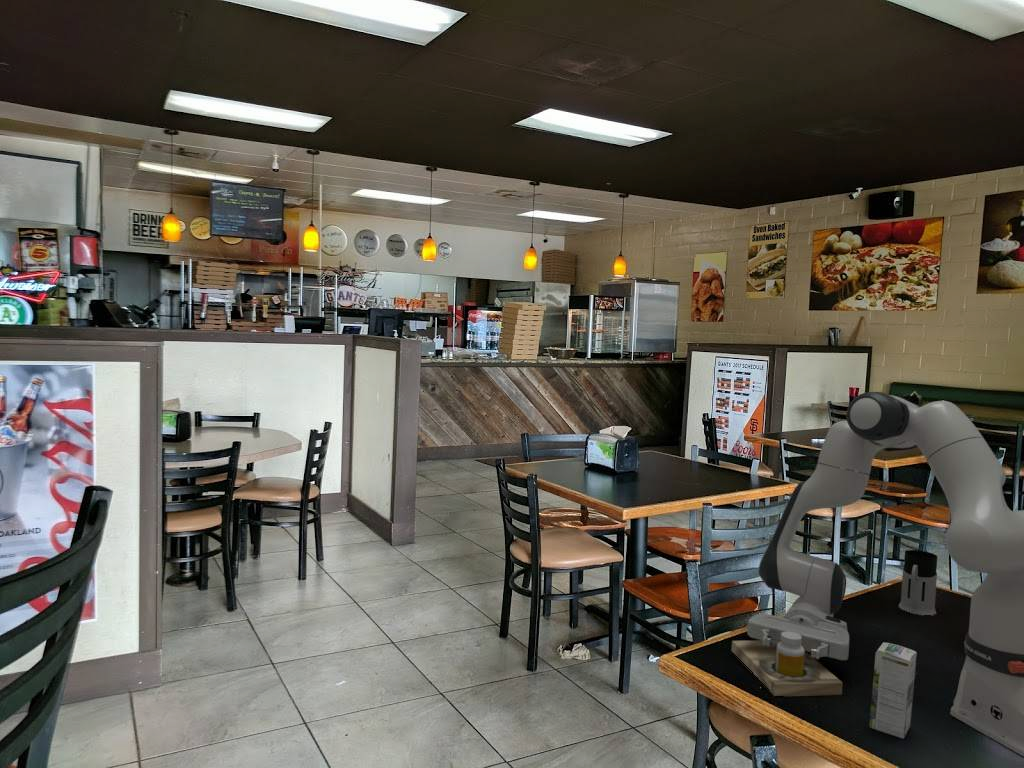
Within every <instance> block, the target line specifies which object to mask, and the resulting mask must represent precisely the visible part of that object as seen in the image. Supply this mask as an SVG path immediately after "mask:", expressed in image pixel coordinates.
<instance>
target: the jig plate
mask: <svg viewBox="0 0 1024 768" xmlns="http://www.w3.org/2000/svg"><path fill="white" fill-rule="evenodd" d="M776 649H777V644H775V643H772V645H771V646H770V647H769V646H764V645H763V641H762V640H760V639H755V640H751V639H750V640H732V641H731V653H732V652H733V653H734V654H735V655H736V656H737V657H738V658H739V659H740V660H741V661H742V662H743V663H744V664H745V665H746V666H747V667H748V668H749V669H750V670H751V671H752V672H753V674H754V675H755V676H756V677H758V679H759V680H760V681H761V682H762V683H763V684H764V685H765V686H766V687H767V688H768V689H769V690H770V691H769V690H768V689H767V688H766V687H765V686H764V685H763V684H762V683H761V682H760V681H759V680H758V679H757V680H758V681H759V682H760V683H761V684H762V685H763V686H764V687H765V688H766V689H767V690H768V691H769V692H770V693H771V694H772V696H774V697H775V696H784V697H809V696H810V697H814V696H842V695H843V681H842V680H840V679H839V678H838V677H837V676H836V675H834V674H833V673H832V672H831V671H829V670H828V669H827V668H826V667H824V666H823V665H822V664H821V663H820V662H819V661H818V660H817V659H815V658H812V657H811V654H809V652H807V651H805V656H804V674H803V677H789V676H784V675H782V674H779V673H777V672H775V667H776ZM733 653H732V654H733ZM734 654H733V655H734ZM735 655H734V656H735ZM736 656H735V657H736ZM737 657H736V658H737ZM738 658H737V659H738ZM739 659H738V660H739ZM740 660H739V661H740ZM741 661H740V662H741ZM742 662H741V663H742ZM743 663H742V664H743ZM744 664H743V665H744ZM745 665H744V666H745ZM746 666H745V667H746ZM747 667H746V668H747ZM748 668H747V669H748ZM749 669H748V670H749ZM750 670H749V671H750ZM751 671H750V672H751ZM752 672H751V673H752ZM754 675H753V676H754ZM755 676H754V677H755ZM756 677H755V678H756Z"/></svg>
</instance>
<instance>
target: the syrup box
mask: <svg viewBox="0 0 1024 768" xmlns="http://www.w3.org/2000/svg"><path fill="white" fill-rule="evenodd" d="M917 653H918V652H916V650H913V649H911V648H908V647H905V646H902V645H899V644H894V643H891V642H882V643H881V645H880V646H879V648H878V649H877V650H876V651H875V656H874V668H873V679H872V680H873V681H872V691H871V702H870V703H871V704H870V714H869V728H871V729H873V730H876V731H877V732H882V733H884V734H888V735H890V736H894V737H897V738H900V739H903V740H904V739H905V737H906V736H907V734H908V731H909V729H910V727H911V724H912V723H911V721H912V711H913V700H914V690H915V689H914V688H915V678H916V664H917V663H916V662H917Z"/></svg>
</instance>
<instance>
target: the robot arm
mask: <svg viewBox="0 0 1024 768" xmlns="http://www.w3.org/2000/svg"><path fill="white" fill-rule="evenodd" d="M917 448H918V449H919V450H920V452H921V453H922V455H923V457H924V458H925V460H926V462H927V464H928V465H929V467H930V469H931V470H932V473H933V474H934V476H935V478H936V480H937V482H938V483H939V485H940V487H941V489H942V491H943V493H944V495H945V497H946V500H947V503H948V504H947V505H948V508H949V512H950V524H949V527H948V528H947V530H946V533H945V547H946V549H947V553H948V554H949V556H950V558H951V559H952V560H953V561H954V562H955V564H957V565H958V566H960V567H961V568H962V569H964V570H967V571H970V572H976V573H981V574H986V575H985V576H986V577H985V578H984V579H983V580H982V582H981V584H979V586H977V588H976V589H975V590H974V591H973V593H972V595H971V598H970V609H969V610H970V611H969V623H968V624H969V625H968V631H967V632H966V634H965V640H964V642H963V643H964V653H965V656H966V657H965V661H964V664H963V667H962V669H961V672H960V675H959V676H960V677H959V680H958V686H957V690H956V695H955V697H954V699H953V702H952V703H953V705H952V706H951V708H950V712H949V714H950V715H951V716H952V717H954V718H956V719H957V720H959V721H961V722H963V723H965V724H966V725H967V726H970V727H971V728H973V729H975V730H977V731H978V732H980V733H982V734H984V735H985V736H987V737H989V738H991V739H992V740H993V741H996V742H997V743H999V744H1001V745H1003V746H1004V747H1006V748H1008V749H1009V750H1012V751H1013V752H1015V753H1016V754H1019V755H1020V756H1022V757H1024V509H1021V510H1012V509H1010V508H1009V506H1008V505H1007V502H1006V499H1005V496H1004V493H1003V486H1004V485H1005V482H1006V480H1007V475H1006V471H1005V469H1004V467H1003V466H1002V464H1001V463H1000V461H999V460H998V459H997V456H996V455H995V454H994V452H993V450H992V448H991V447H990V446H989V444H988V443H987V441H986V439H985V438H984V436H983V435H982V434H981V432H980V431H979V429H978V428H977V427H976V426H975V424H974V422H972V420H971V419H970V418H969V417H968V416H967V415H966V414H965V413H964V411H962V410H961V409H960V408H959V406H957V405H956V404H954V403H952V402H951V401H947V400H938V401H937V400H936V401H932V402H928V403H926V404H924V405H922V406H920V405H919V404H916V403H913V402H910V401H909V400H906V399H905V398H902V397H900V396H896V395H892V394H888V393H886V392H882V391H867V392H866V391H865V392H863V393H860V394H858V395H857V396H855V397H854V398H853V399H852V400H851V401H850V403H849V404H848V406H847V409H846V420H840V421H836V422H834V423H833V424H832V425H831V426H830V428H829V429H828V432H827V433H826V436H825V438H824V440H823V443H822V446H821V449H820V453H819V456H818V459H817V464H816V466H815V470H814V471H813V473H812V474H811V475H810V477H809V478H808V479H807V480H805V481H800V482H799V483H798V484H796V487H795V488H794V490H793V491H792V493H791V496H790V497H789V499H788V502H787V504H786V505H785V508H784V510H783V512H782V515H781V517H780V519H779V521H778V524H777V526H776V528H775V530H774V533H773V536H772V537H771V540H770V542H769V544H768V546H767V548H766V549H765V551H764V553H763V554H762V557H761V558H760V561H759V565H758V575H759V577H760V578H761V580H762V582H763V583H764V584H765V585H766V587H768V588H769V589H771V590H772V589H773V590H776V591H781V592H786V593H790V594H793V595H796V596H798V598H796V599H795V601H793V603H792V605H791V606H790V607H789V608H788V610H787V612H786V613H784V615H783V616H777V615H775V614H774V615H773V614H769V613H764V612H763V613H762V612H760V613H756V614H755V615H753V616H751V617H750V618H749V619H748V620H747V627H746V628H747V629H746V632H747V635H748V636H749V637H750V638H752V639H755V640H762V641H763V645H764V646H769V647H770V646H771V645H772V643H775V644H778V643H780V642H782V641H781V633H782V632H786V631H788V632H794V633H797V634H799V635H801V637H802V643H801V646H802V647H803V648H804V650H805V652H807V653H810V656H811V657H812V658H814V659H815V660H819V659H820V658H823V657H827V658H831V659H836V660H838V661H847V660H849V653H850V652H849V651H850V633H849V631H848V625H847V624H848V623H847V622H846V621H843V620H841V619H838V618H836V617H834V613H837V612H838V611H840V609H841V607H842V604H843V601H844V598H845V594H846V589H847V577H846V573H845V572H844V571H843V569H842V567H841V566H840V564H838V563H837V562H835V561H831V560H828V559H824V558H822V557H818V556H813V555H810V554H807V553H803V552H799V551H797V550H794V549H793V548H791V544H792V542H793V540H794V537H795V534H796V532H797V530H798V528H799V526H800V523H801V521H802V518H803V517H804V516H805V515H806V514H808V513H809V512H811V511H814V510H815V511H816V510H821V509H833V508H840V507H841V508H842V507H847V506H850V505H852V504H854V503H857V501H859V500H861V498H862V497H863V496H864V494H865V492H866V489H867V487H868V482H869V478H870V475H871V471H872V464H873V461H874V458H875V456H876V455H877V453H878V452H879V451H882V450H884V451H885V452H897V451H908V450H914V449H917Z"/></svg>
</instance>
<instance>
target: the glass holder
mask: <svg viewBox="0 0 1024 768" xmlns="http://www.w3.org/2000/svg"><path fill="white" fill-rule="evenodd" d="M903 560H904V562H903V567H902V576H901V577H902V578H901V592H900V593H901V595H900V602H899V604H898V608H899V609H900V610H902V611H904V610H905V611H904V612H906V611H907V613H909V612H910V614H914V615H917V614H918V616H924V615H931V616H935V615H937V611H936V608H935V607H936V593H937V592H936V591H937V580H938V579H937V577H938V573H937V565H938V555H937V554H935V553H932V552H931V551H930V552H929V551H925V550H920V549H907V550H904V559H903ZM934 614H935V615H934Z"/></svg>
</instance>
